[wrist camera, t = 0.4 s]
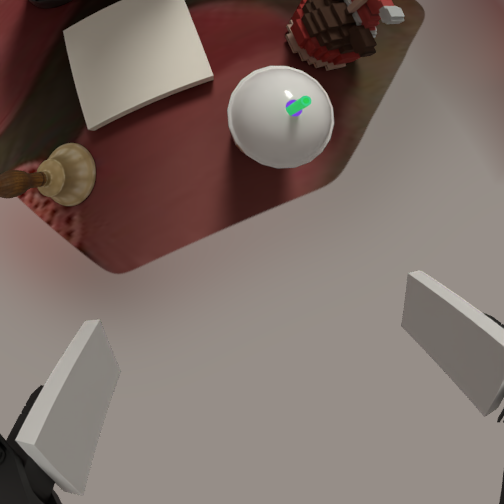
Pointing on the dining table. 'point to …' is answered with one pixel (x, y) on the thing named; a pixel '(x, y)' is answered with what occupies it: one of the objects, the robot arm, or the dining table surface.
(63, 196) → the hand bell
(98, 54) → the stand
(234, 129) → the smoothie
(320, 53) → the cake
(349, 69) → the dining table surface
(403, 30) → the dining table surface
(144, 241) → the dining table surface
